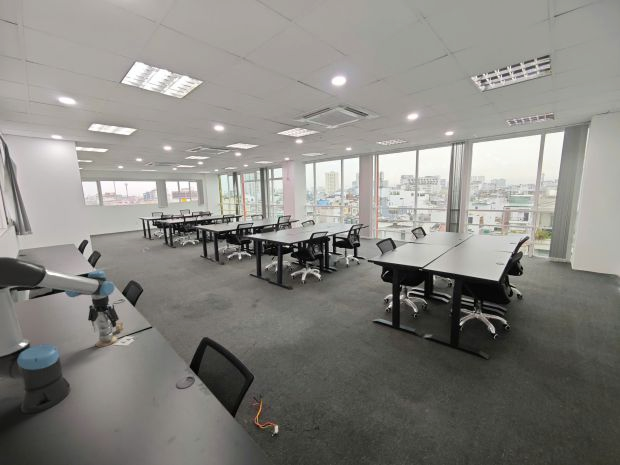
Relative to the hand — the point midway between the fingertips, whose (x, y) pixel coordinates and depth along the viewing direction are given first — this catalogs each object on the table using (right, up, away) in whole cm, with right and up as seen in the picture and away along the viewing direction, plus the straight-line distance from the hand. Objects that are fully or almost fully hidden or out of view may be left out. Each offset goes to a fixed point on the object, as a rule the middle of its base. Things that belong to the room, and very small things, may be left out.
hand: (105, 331), depth 153 cm
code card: (+11, -7, +2) cm, 13 cm away
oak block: (-3, -5, +13) cm, 15 cm away
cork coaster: (0, -7, +1) cm, 7 cm away
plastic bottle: (0, -7, +1) cm, 7 cm away
